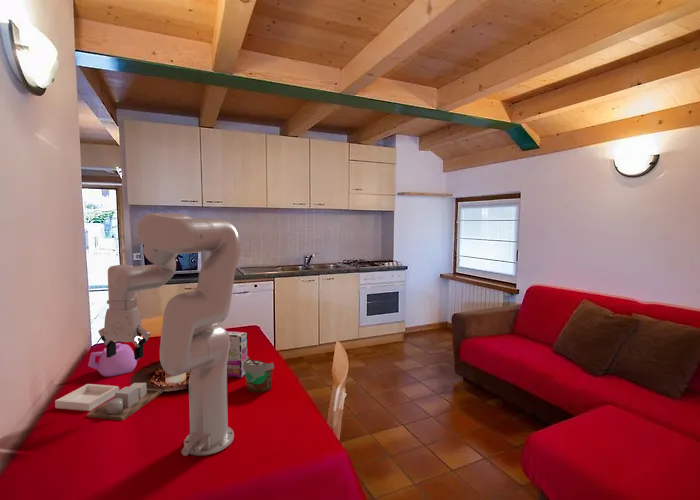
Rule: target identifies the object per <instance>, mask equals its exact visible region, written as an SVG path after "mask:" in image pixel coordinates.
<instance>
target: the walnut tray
mask: <svg viewBox="0 0 700 500" xmlns="http://www.w3.org/2000/svg"><path fill="white" fill-rule="evenodd" d="M160 394H163V389H158V388H157V389H156V388H147V393H146V394H145V395H144V396H143V397H142V398H139V401H138V402H136V403H135V404H133V405H132V406H130V407H129V408H126V407H123V412H122V413H121V414H119V415H107V408H106V403H107V402H108V401H106V402H104V403H102V404H101V405H99V406H97V407H96V408H94V409H93V410H91V411H89V412H88V413H87V414H86V417H87V418H93V419H96V418H97V419H104V420H105V419H106V420H117V421H124V420H126V419H127V418H129V417H130V416H132V415H133V414H134V413H136V412H137V411H139V410H140V409H141V408H143V407H144V406H146V405H147V404H149V403H150V402H151V401H152V400H154V399H156V398H157V397H159V395H160ZM112 399H115V396H114V397H112Z"/></svg>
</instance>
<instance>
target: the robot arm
mask: <svg viewBox="0 0 700 500" xmlns="http://www.w3.org/2000/svg"><path fill="white" fill-rule="evenodd" d="M136 235H137V239H138V240H139V242H140V243H141V244H142V245H143V248H142V249H143V250H142V251H143V254H144V256H145V258H146V259H147V261H149V262H150V263H151V264H146V265H145V264H143V265H135V266H134V265H131V264H116V265H111V266H109V267H108V268H107V287H108V288H107V290H108V293H107V294H108V300H107V301H106V304H107V305H108V308H107V309H106V312H105V316H104V317H105V318H104V327H103V328H100V329H99V330H98V334H99V336H100V339H101V341H102V342H103V345H105V348H106V353H107V358H109V357H111V356H113V355H115V354H116V343H133V344H134V348H133V352H134V359H135V360H137V359H139V358H140V359H141V358H143V357H144V345H145V344H146V343H147V342H148V341H149V338H150V337H151V332H150V331H148V330H146V329H145V328H144V327H143V325H142V317H141V316H142V315H141V312H140V308H139V307H138V298H137V297H138V295H137V294H138V293H137V292H141V291H145V290H151V289H152V290H153V289H158V288H161V287H162V286H165V284H167V283H168V282H169V280H171V279H172V278H173V277H174V275H175V274H176V269H177V261H176V258H177V257H178V255H183V254H184V255H186V254H197V253H208V252H209V255H208V257H206V259H205V260H204V262H203V264H202V265H201V268H200V269H199V273H198V281H197V285H196V287H195V289H194V290H192V291H188V292H183V293H178V294H177V295H174V296H172V298H171V297H170V299H169V300H168V302H167V303H166V306H165V308H164V311H163V317H162V324H161V325H162V326H161V333H160V334H161V335H160V342H159V343H160V345H159V362H160V365H161V367H162V369H163V371H164V372H166V373H167V374H168V375H171V376H179V375H183V374H186V373H188V372H190V374H189V379H188V403H189V406H188V407H189V408H188V410H189V434H188V435H187V436H186V437H185V439H184V440H183V448H182V449H181V455H182V456H184V457H186V456H188V455H189V454H190V455H192V456H200V457H201V456H209V455H212V454H216V453H218V452H219V453H220V452H221V451H223V450H224V449H227V447H229V446H230V445H232V443H233V441H234V438H235V433H234V430H233V429H232V428H231V427H230V426H228V425H229V423H228V422H229V419H228V414H229V412H228V376H227V362H228V356H229V351H230V337H229V334H228V332H227V331H228V330H226V329H225V328H224V327H223V326H222V325H218V324H220V323H222V322H224V321H225V320H226V319H227V318H228V316H229V312H230V309H231V302H232V294H233V288H234V280H235V274H236V269H237V266H238V262H239V260H240V255H241V250H242V241H241V237H240V234H239V231H238V230H237V229H236V227H235V226H234V225H233V224H232V223H231V222H229V221H227V220H223V219H219V218H192V217H190V216H189V215H186V214H183V213H177V212H176V213H174V212H173V213H171V212H170V213H168V212H151V213H148V214H145V215H144V216H142V218H141V219H140V220H139V221H138V223H137V226H136ZM140 359H139V360H140Z"/></svg>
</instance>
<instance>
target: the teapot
mask: <svg viewBox="0 0 700 500" xmlns="http://www.w3.org/2000/svg"><path fill="white" fill-rule="evenodd" d="M115 343H116V354H115V355H113V356H111V357H109V358H107V353H106V347H104V349H103V350H102V351H96V352H95V351H93V352H91V353H90V356H89V361H88V364H87V366H88V367H90V368H92V369H93V370H97V371H98V373H99V374H100V375H101V376H102V377H105V378H106V377H116V376H120V375H124V374H128V373H132V372H133V371H134V370H135V368H136V367H137V363H138V361H139V360H140V359H141V358H139V359H137V360H135V359H134V349H132V347H131V346H130V345H129V344H126V343H122V342H115ZM96 357H99V359H98V362H96Z"/></svg>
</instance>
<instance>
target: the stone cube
mask: <svg viewBox="0 0 700 500" xmlns="http://www.w3.org/2000/svg"><path fill="white" fill-rule="evenodd" d="M114 397H115V398H121V399H123V407H126V408H129V407H130V406H132V405H133V404H135V403H136V402H138V401H139V396H138V387H129V386H124V387H123V388H121V389H119V391H117V392H116V393H115V396H114Z"/></svg>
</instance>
